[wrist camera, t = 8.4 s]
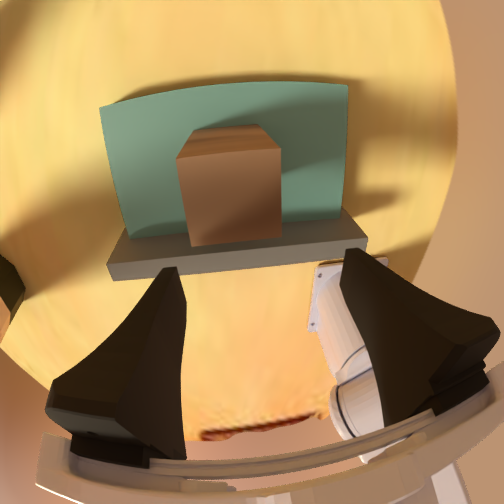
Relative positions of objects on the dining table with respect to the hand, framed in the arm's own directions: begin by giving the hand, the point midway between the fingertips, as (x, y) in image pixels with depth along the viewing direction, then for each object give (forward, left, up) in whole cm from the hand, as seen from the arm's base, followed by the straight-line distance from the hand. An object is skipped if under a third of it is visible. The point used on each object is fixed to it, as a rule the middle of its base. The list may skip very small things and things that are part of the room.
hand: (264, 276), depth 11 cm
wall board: (+2, +1, -10) cm, 11 cm away
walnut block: (+3, +1, -8) cm, 9 cm away
